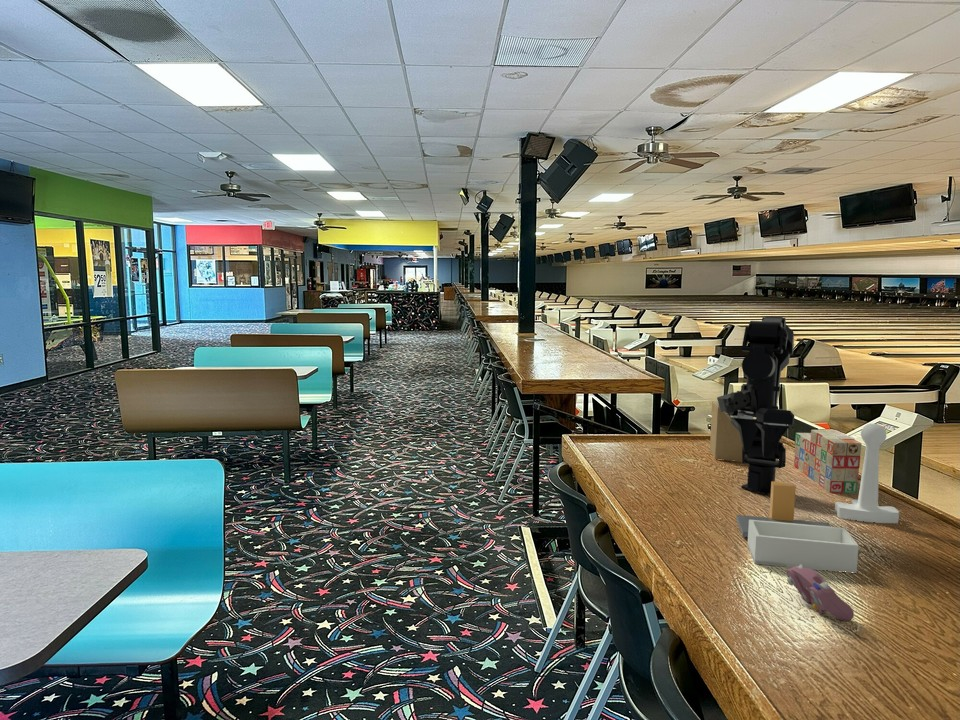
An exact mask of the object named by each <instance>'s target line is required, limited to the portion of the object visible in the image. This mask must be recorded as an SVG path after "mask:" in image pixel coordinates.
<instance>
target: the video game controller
mask: <svg viewBox="0 0 960 720" xmlns="http://www.w3.org/2000/svg"><path fill="white" fill-rule="evenodd" d="M785 574H786V575H787V583H788V584H789V585H790V586H792V587H793V586H794V588H795V589H796V590H797V591H798V593H799V595H800V597H801V598H802V599H803V601H804V602H806V603H807V604H810V603H811V604H812V608H813V609H814V610H816V611H817V612H818V613H819V614H820V615H821V614H824V613H825V612H827V613H829V614H830V615H831V616H833V617H834V618H836V619H838V620H840V621H843V622H849V621H852V619H854V615H855V614H854V613H855V612H854V610H853V608H852V606H850V605H849V604H848V603H846V602H845V601H844V600H842V598H841V597H839V596H838V595H837V593H836V592H835V591H834V589H833V588H832V587H831V586H830V585H829V584H828V583H826V581H825V580H824V579H823V577H822V576H821V574H819V573H818V572H817V570H812V569H808V568H804V567H803V566H802V565H801V564H800V566H794V567H789V568H788V569H786V570H785Z"/></svg>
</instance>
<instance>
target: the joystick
mask: <svg viewBox="0 0 960 720" xmlns="http://www.w3.org/2000/svg"><path fill="white" fill-rule="evenodd" d="M860 438H861V439H862V440H863V442H864V444H865V452H864V456H863V457H864V458H863V465H862V471H861V476H860V477H861V478H860V484H859V492H858V497H857V499H851V503H848V502H847V503H846V502H842V501H841V502H840V501H836V502H834V503H835V504H834V512H836V517H838V518H840V519H843V520H850V519H851V520H850V521H855V520H857V522H863V521H864V522H863V523H873V522H875V524H877V523H878V524H898V523H899V519H900V518H899V516H900V511H899V510H898V509H897V508H896V507H894V506H889V505H886V506H879V477H880V476H879V474H880V473H879V471H880V470H879V469H880V467H879V465H880V448H881V445H882V444H884V442H885V441H886V440H887V431H886V429H885V428H884V427H883V426H882V425H880V424H877V423H868V424H866V425H865V426H863V427H862V429H861V431H860Z"/></svg>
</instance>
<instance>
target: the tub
mask: <svg viewBox="0 0 960 720" xmlns="http://www.w3.org/2000/svg"><path fill="white" fill-rule="evenodd" d="M747 547H748V550H749V553H750V555H751V558H752V561H753V563H754V564H755V565H765V566H776V567H785V568H792V567H794V566H800V564H801V565H802V566H803V567H804V568H808V569H812V570H814V571H822V570H825V571H824V572H832V571H844V572H845V571H846V572H854V573H856V574H857V572H858V571H857V570H858V560H859V559H858V557H859V548H860V547H859V544H858V543H857V542H856V540H855V539H854V538H853V536H851V534H850V533H849V531H848V530H847V529H846V528H845V527H839V526H831V527H829V526H818V525H806V524H795V523H783V522H772V521H760V520H749V527H748V537H747ZM826 570H828V571H826Z"/></svg>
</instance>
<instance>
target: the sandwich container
mask: <svg viewBox="0 0 960 720" xmlns="http://www.w3.org/2000/svg"><path fill="white" fill-rule="evenodd" d="M710 417H711V420H710V421H711V422H710V438H709V439H710V440H709V441H710V442H709V453H710V452H711V453H712V455H713V456H714V458H715V459H724V460H735V461H734V462H742V441H741V437H740V432H739V428H738V426H737V424H736V423H735V422H734V421H733V420H731V419H730V417H731V415H727V413H726V412H724V411H723V412H721V411H720V407H719V404H718V403H716V402H715V401H712V403H711V416H710ZM711 453H710V454H711ZM712 455H711V456H712ZM713 456H712V457H713ZM714 458H713V459H714ZM715 459H714V460H715ZM724 460H723V461H724Z"/></svg>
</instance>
